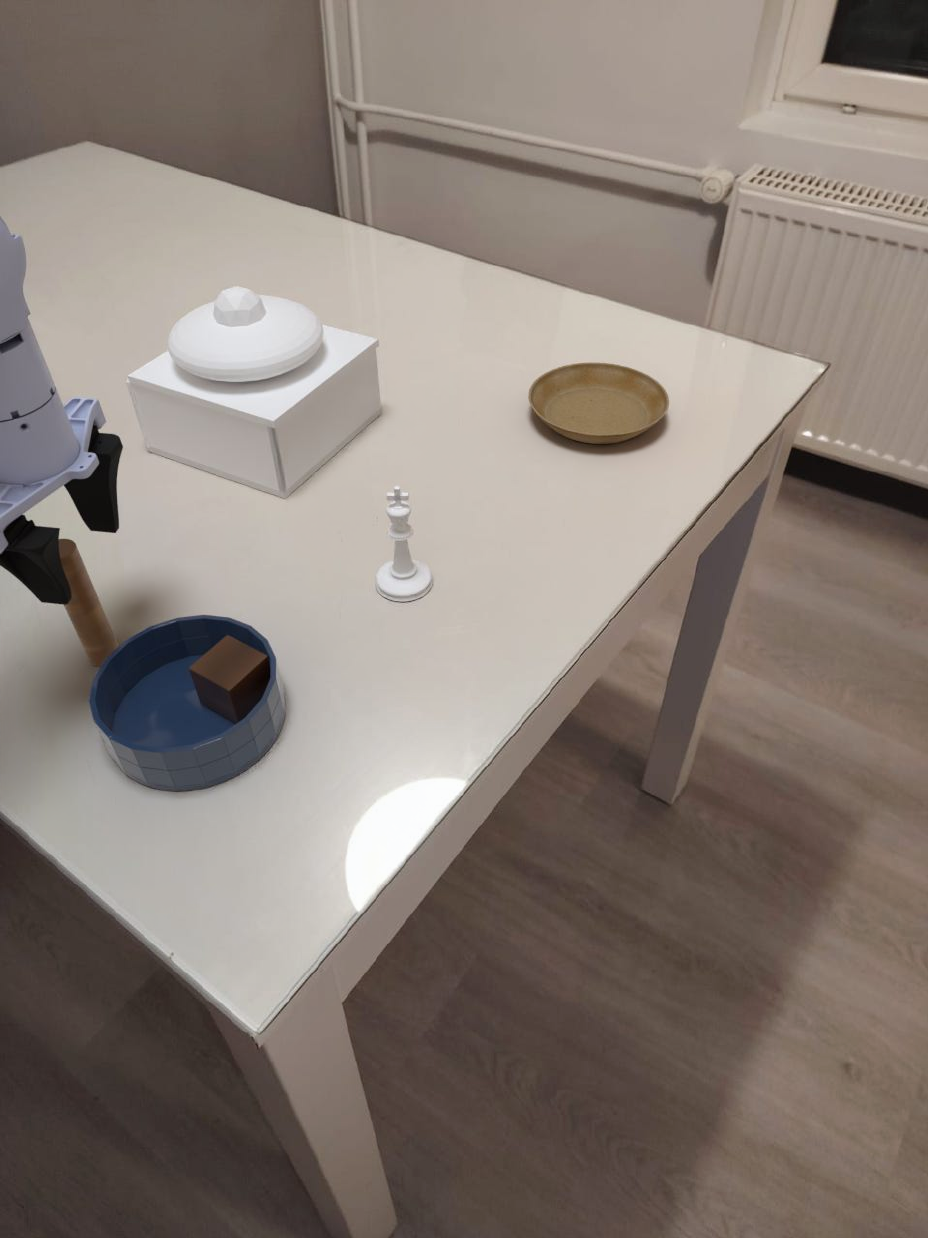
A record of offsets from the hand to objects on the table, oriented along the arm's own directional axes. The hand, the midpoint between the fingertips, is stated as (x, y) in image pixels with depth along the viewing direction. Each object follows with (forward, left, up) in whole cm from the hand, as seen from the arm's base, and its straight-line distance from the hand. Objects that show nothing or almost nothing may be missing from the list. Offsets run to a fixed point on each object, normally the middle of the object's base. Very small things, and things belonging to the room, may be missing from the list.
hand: (81, 563), depth 63 cm
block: (+11, -4, -9) cm, 15 cm away
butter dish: (+2, +32, -10) cm, 34 cm away
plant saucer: (+36, +40, -10) cm, 55 cm away
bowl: (+9, -6, -9) cm, 14 cm away
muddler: (-1, 0, -9) cm, 9 cm away
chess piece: (+21, +11, -10) cm, 26 cm away
